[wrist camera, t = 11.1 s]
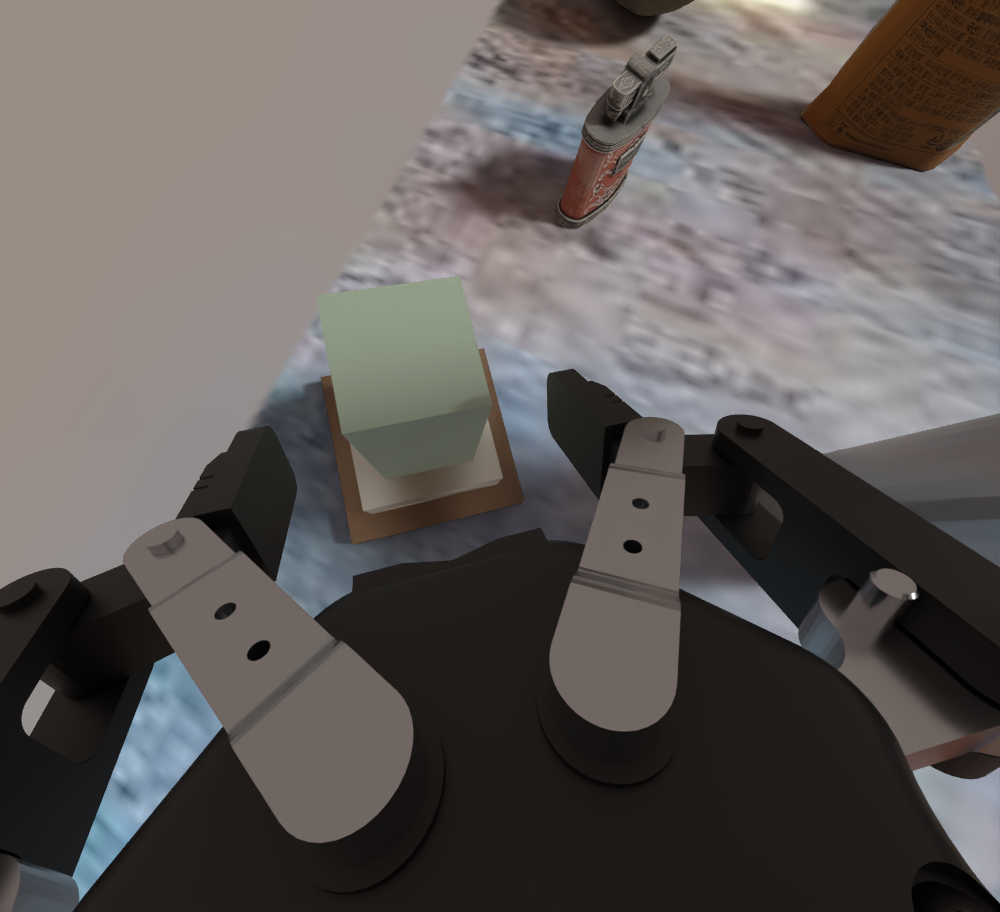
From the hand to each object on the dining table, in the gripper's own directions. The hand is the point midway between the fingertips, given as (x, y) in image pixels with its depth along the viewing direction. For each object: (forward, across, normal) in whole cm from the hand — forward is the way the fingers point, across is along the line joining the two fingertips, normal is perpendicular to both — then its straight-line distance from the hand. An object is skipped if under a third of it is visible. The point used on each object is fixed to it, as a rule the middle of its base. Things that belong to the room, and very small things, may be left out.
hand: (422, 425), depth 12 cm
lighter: (+26, -18, -4) cm, 32 cm away
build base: (+14, 0, +9) cm, 16 cm away
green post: (+10, 0, +6) cm, 12 cm away
